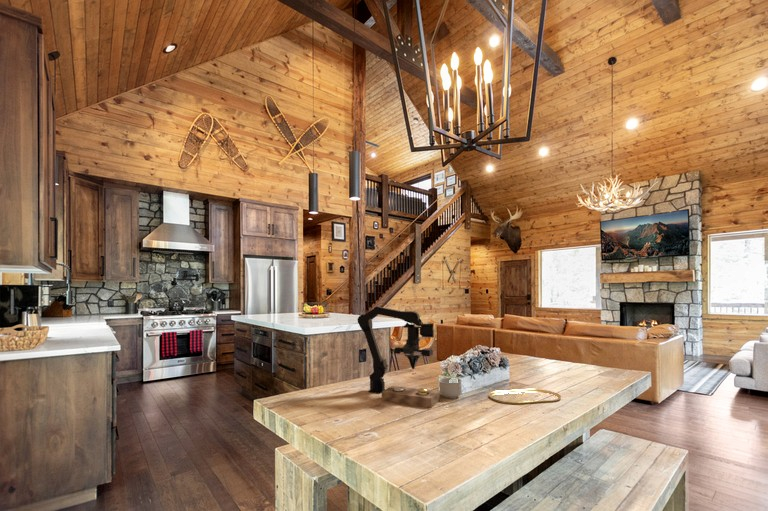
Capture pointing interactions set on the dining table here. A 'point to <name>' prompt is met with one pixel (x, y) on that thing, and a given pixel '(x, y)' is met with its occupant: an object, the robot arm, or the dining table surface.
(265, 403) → the dining table surface
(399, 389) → the grey plug
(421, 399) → the walnut block
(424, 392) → the brass plug
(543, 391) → the gold ring
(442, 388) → the teacup
